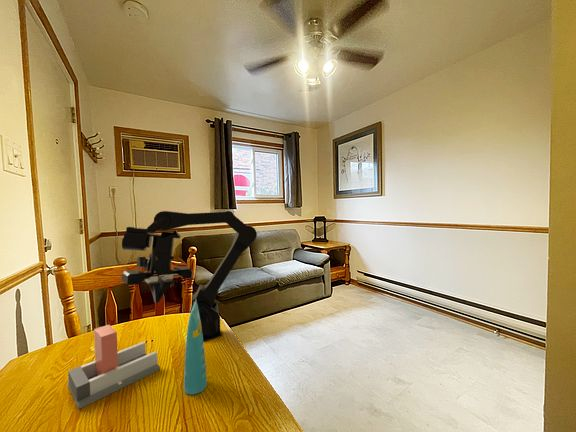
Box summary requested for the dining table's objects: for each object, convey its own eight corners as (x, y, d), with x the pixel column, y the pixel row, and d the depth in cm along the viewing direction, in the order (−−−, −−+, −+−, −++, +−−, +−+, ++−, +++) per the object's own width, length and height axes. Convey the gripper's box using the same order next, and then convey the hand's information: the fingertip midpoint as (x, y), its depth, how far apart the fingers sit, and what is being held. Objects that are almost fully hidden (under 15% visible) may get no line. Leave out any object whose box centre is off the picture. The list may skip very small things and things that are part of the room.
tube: (207, 395, 54) (205, 308, 53) (183, 401, 52) (180, 312, 52) (206, 374, 61) (204, 297, 60) (185, 379, 59) (182, 300, 59)
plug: (110, 367, 62) (109, 324, 62) (118, 377, 58) (116, 331, 58) (95, 374, 60) (94, 329, 59) (102, 384, 56) (101, 337, 56)
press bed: (142, 354, 70) (142, 339, 70) (159, 369, 63) (158, 353, 63) (67, 385, 58) (67, 368, 58) (78, 409, 51) (77, 389, 51)
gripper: (179, 247, 88) (175, 291, 88) (118, 248, 74) (112, 300, 74) (195, 252, 81) (190, 300, 80) (131, 254, 66) (124, 312, 66)
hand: (156, 302), depth 75 cm, fingers closed
